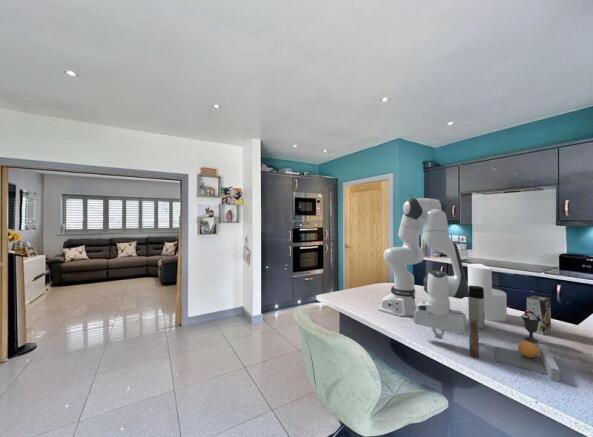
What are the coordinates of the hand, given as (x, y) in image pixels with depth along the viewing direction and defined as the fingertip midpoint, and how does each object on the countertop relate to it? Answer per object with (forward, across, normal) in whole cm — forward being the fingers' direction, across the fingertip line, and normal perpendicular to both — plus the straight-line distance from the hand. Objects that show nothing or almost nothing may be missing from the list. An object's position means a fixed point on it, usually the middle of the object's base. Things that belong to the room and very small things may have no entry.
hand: (438, 338), depth 112 cm
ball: (-1, -30, -6) cm, 31 cm away
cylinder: (+2, -19, -50) cm, 54 cm away
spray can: (+2, -14, -30) cm, 33 cm away
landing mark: (+2, -27, -2) cm, 27 cm away
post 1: (+2, -13, -8) cm, 16 cm away
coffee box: (+2, -39, -40) cm, 56 cm away
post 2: (+2, -13, +5) cm, 14 cm away
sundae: (+2, -34, -25) cm, 42 cm away
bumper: (+2, -36, -2) cm, 36 cm away
